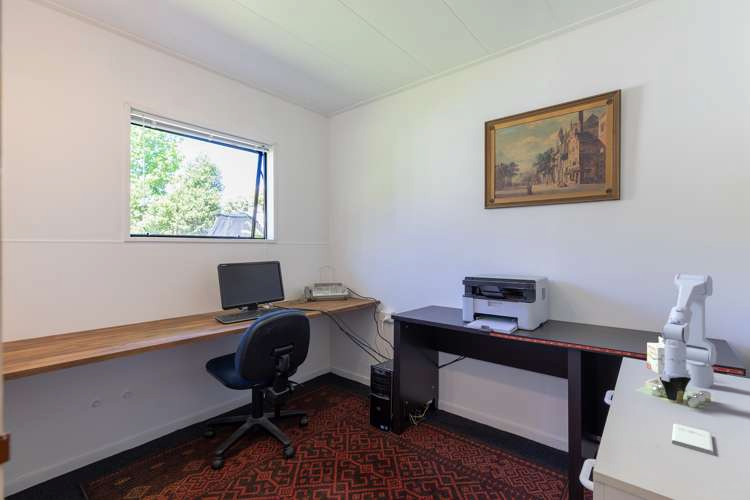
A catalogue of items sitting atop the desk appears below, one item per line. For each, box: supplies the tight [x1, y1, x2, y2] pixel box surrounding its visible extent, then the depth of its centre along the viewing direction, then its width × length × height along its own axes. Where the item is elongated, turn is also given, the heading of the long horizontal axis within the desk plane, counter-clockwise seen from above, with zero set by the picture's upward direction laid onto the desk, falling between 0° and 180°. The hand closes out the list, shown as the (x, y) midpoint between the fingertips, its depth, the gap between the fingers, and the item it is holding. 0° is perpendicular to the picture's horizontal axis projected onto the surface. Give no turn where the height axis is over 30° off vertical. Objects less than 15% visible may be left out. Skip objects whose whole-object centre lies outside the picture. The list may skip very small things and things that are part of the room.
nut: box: [667, 389, 683, 404], centre depth 121 cm, size 4×5×4 cm
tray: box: [644, 377, 662, 388], centre depth 132 cm, size 8×8×2 cm
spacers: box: [652, 384, 712, 410], centre depth 123 cm, size 12×13×3 cm
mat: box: [634, 385, 719, 411], centre depth 126 cm, size 17×18×1 cm
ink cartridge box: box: [646, 336, 665, 375], centre depth 151 cm, size 9×5×15 cm, turn 168°
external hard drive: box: [671, 423, 714, 456], centre depth 98 cm, size 2×8×12 cm
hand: (675, 398), depth 121 cm, fingers open, 4 cm apart
